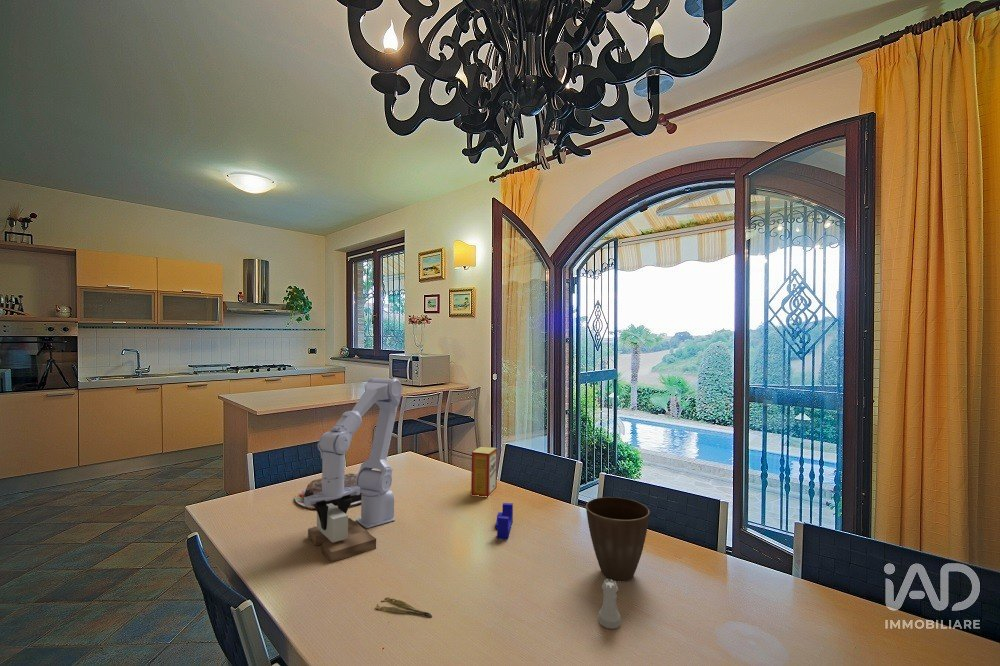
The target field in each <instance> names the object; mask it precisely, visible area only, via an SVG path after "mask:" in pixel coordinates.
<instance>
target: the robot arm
mask: <svg viewBox="0 0 1000 666" xmlns="http://www.w3.org/2000/svg"><path fill="white" fill-rule="evenodd" d="M402 392H403V385H402V384H401V381H400V380H399V378H395V377H393V378H385V377H375V376H373V377H372V376H371V377H369V379H368V380H367V382H366V383H365V384H364V391H363V393H362V395H361V396H360V398H359V399H358V400H357V402H356V403H355V405H354V406H353V408H352V410H347V411H345V412H343V413H342V414H341V416H340V418H339V419H338V420H337V422H335V424H334V425H333V426H332V427H331V429H330V430H328V431H326V432H323V433H322V434H321V435H320V437H319V439H318V443H317V444H316V445H317V450H318V451H319V452H320V458H321V459H322V462H321V463H322V469H321V470H322V471H321V472H322V473H321V479H322V492H320V493H317V494H314V495H311V496H308V497H304V505H305V506H306V507H307V506H310V505H312V504H313V505H314V507H315V509H314V510H316V514H317V513H318V515H319V518H320V522H321V528H322V529H323V530H326V527H327V512H328V506H327V505H326V503H325V502H326V501H330V500H334V499H337V503H338V508H339V509H340V510H341V511H343V512H344V513H345V514H347V512H348V510H349V508H350V507H349V506H350V505H351V503H352V498H351V496H352V495H360V493H361V504H360V517H357V518H355V522H356V523H359V524H361V525H360V526H363V528H365V529H369V528H373V527H376V526H380V525H384V524H387V523H390V522H394V521H396V518H395V497H394V496H395V495H394V493H393V491H392V489H390V488H391V486H392V483H393V476H392V473H393V468H392V466H391V465H390V464H389V462H387V458H388V454H389V449H390V444H391V439H392V435H393V431H394V425H395V421H396V416H397V411H398V407H399V405H400V402H401V398H402ZM374 404H376V405H377V406H378V408H379V413H378V417H377V420H376V421H377V422H376V425H375V430H374V434H373V438H372V439H373V440H372V442H371V443H372V444H371V448H370V452H369V457H368V459H366V460H365V461H364V462H363V463H361V465H360V468H359V470H358V473H357V474H356V475H357V476H356V486H355V487H347V488H344V475H346V474H345V473H346V472H345V468H346V467H345V466H346V463H345V462H346V453H347V451H348V450H349V448H350V447H351V442H352V440H353V435H355V433H356V431H358V429H359V428H360V426H361V425H362V423H363V420H362V417H363V416H364V415H365V414H366V413H367V412H368V411H369V410H370V408H371V407H372V406H373V405H374Z"/></svg>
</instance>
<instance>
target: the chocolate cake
mask: <svg viewBox="0 0 1000 666" xmlns="http://www.w3.org/2000/svg"><path fill="white" fill-rule="evenodd" d="M356 476H357V474H355V473H347V474H345V475H344V488H347V487H355V486H356ZM320 492H322V478H318V479H314V480H312V481H311V482H309V483H308V484H307V486H306V488H305V489H303V490H301V491H300V492H298V493H297V494H296V495H295V496H294V502H295V504H297V505H299V506H300V505H301V507H303V508H305V507H306V506H305V505H304V497H308V496H311V495H314V494H317V493H320ZM351 498H352V503H351V505H350V506H349V508H353V507H352V506H354V507H357V506H359V505H361V493H360V495H352V496H351ZM325 503H326V504H330V503H332V504H333V505H335V506H336V507H337V508H338V503H337V499H334V500H330V501H326V502H325ZM356 505H357V506H356ZM306 509H309V510H316V509H315V507H314V505H313V504H312V505H310V506H307V507H306Z"/></svg>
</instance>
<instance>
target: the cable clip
mask: <svg viewBox="0 0 1000 666" xmlns="http://www.w3.org/2000/svg"><path fill="white" fill-rule="evenodd" d="M495 522H496V523H495V525H494V526H495V528H494V529H497V530H496V531H497V533H496V537H497V540H507V541H508V540H509V537H510V533H511V530H512V527H511V526H513V522H514V503H509V502H503V503H502V511H498V513H497V514H496V521H495Z"/></svg>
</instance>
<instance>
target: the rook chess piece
mask: <svg viewBox="0 0 1000 666" xmlns="http://www.w3.org/2000/svg"><path fill="white" fill-rule="evenodd" d="M601 589H602V591H603V592H602V596H603V602H602V606H601V607H600V610H599V612H598V617H597V619H598V622H599V624H600V625H601V626H602V627H603V628H606V629H608V628H609V630H614V629H615V628H616V629H617V627H618V628H620V626H621V624H622V620H621V619H622V617H621V613H620V612H619V609H618V606H617V598H618V595H617V592H618V591H619V587H618V584H617V581H613V580H611V579H608V578H606V579H604V580H603V583H602V585H601Z"/></svg>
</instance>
